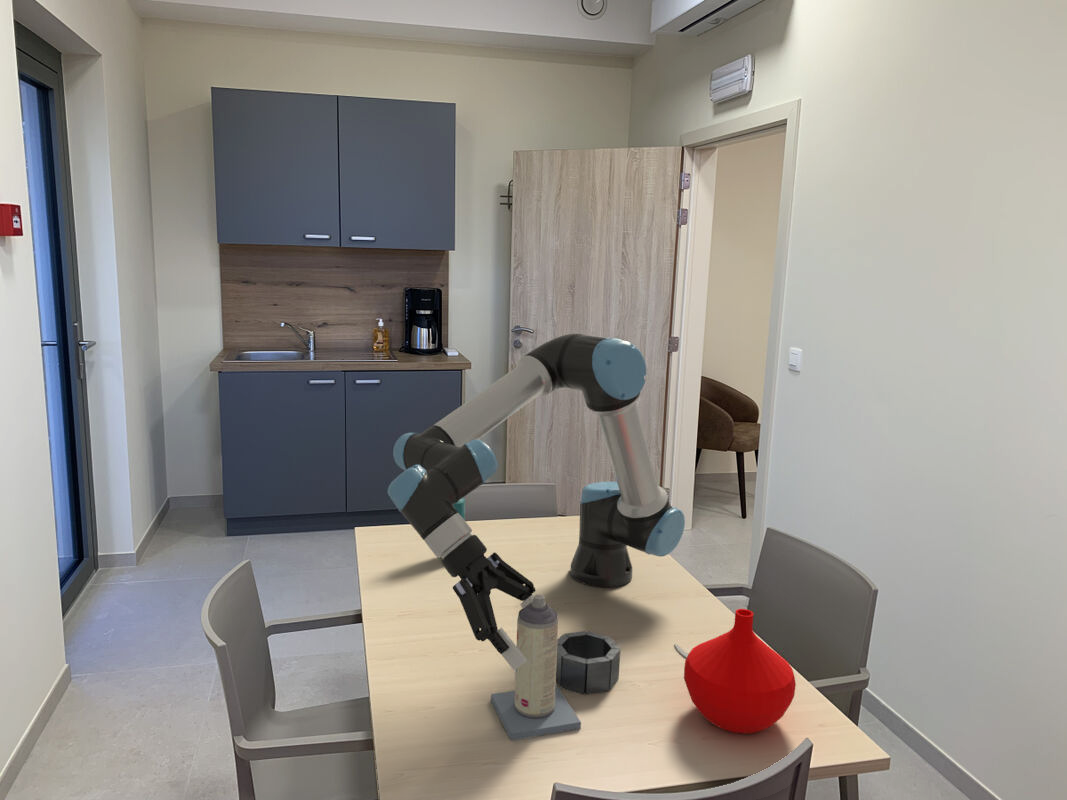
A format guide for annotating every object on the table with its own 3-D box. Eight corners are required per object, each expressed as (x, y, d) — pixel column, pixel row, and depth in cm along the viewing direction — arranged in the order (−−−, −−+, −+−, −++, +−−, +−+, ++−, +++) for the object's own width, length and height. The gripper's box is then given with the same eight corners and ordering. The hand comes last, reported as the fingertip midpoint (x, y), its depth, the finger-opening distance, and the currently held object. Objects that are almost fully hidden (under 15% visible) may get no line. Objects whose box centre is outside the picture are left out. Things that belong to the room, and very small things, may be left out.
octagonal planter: (601, 657, 154) (602, 628, 153) (626, 688, 143) (628, 657, 142) (545, 665, 150) (546, 636, 149) (567, 697, 139) (568, 666, 138)
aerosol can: (528, 692, 138) (532, 584, 135) (562, 704, 135) (566, 594, 131) (506, 710, 133) (510, 598, 129) (541, 723, 129) (546, 609, 126)
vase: (660, 699, 140) (667, 598, 137) (744, 680, 147) (753, 584, 144) (723, 760, 123) (733, 646, 120) (814, 735, 131) (826, 628, 127)
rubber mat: (555, 690, 142) (555, 684, 141) (580, 728, 130) (580, 721, 130) (490, 700, 138) (491, 694, 137) (511, 740, 126) (511, 733, 126)
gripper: (473, 535, 147) (545, 626, 145) (405, 585, 124) (490, 694, 122) (500, 512, 144) (574, 604, 142) (436, 559, 121) (523, 670, 119)
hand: (535, 646), depth 132 cm, fingers open, 13 cm apart
